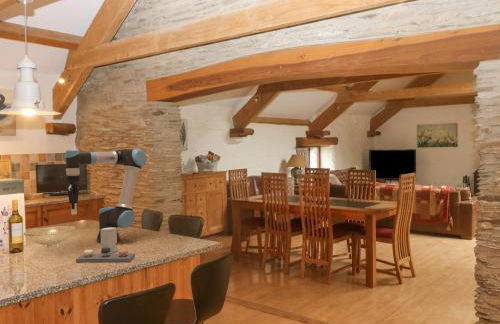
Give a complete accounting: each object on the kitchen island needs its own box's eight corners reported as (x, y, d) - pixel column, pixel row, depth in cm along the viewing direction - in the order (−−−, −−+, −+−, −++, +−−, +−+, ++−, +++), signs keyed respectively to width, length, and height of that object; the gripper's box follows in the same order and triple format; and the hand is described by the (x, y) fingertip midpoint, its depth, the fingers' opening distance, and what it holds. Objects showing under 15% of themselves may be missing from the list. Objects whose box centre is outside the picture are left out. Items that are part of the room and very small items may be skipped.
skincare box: (107, 254, 276) (106, 229, 275) (100, 253, 278) (99, 228, 278) (117, 251, 283) (117, 227, 282) (110, 250, 286) (110, 226, 285)
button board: (84, 257, 269) (83, 253, 269) (134, 256, 268) (134, 253, 268) (76, 262, 257) (75, 259, 257) (129, 262, 256) (129, 258, 256)
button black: (103, 256, 265) (103, 247, 265) (111, 255, 265) (111, 247, 265) (100, 258, 260) (100, 249, 260) (108, 258, 260) (108, 249, 260)
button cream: (86, 258, 265) (85, 249, 265) (94, 258, 265) (94, 249, 265) (83, 260, 260) (82, 251, 260) (91, 260, 260) (91, 251, 260)
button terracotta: (120, 257, 265) (120, 249, 265) (128, 257, 265) (128, 249, 265) (118, 259, 260) (117, 251, 260) (126, 259, 260) (126, 251, 260)
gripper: (71, 174, 280) (72, 212, 281) (62, 176, 267) (63, 216, 268) (83, 174, 280) (84, 212, 281) (74, 175, 267) (76, 215, 268)
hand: (74, 214), depth 275 cm, fingers closed
